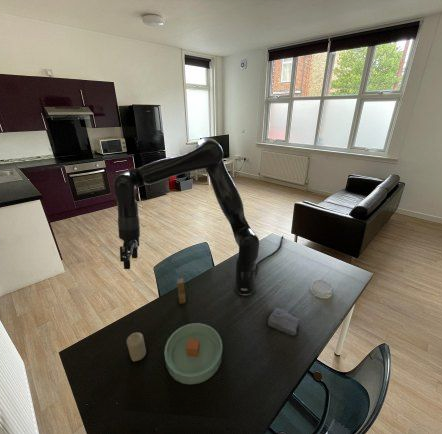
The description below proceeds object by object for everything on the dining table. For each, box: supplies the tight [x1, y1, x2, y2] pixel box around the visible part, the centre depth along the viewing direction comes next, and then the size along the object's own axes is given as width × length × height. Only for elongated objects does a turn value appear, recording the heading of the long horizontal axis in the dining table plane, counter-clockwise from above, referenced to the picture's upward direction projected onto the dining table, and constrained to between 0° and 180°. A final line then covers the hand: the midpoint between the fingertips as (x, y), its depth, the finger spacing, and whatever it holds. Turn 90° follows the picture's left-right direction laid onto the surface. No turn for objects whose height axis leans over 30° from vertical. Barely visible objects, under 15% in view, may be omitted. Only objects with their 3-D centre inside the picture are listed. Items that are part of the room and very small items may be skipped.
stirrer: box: [176, 277, 187, 305], centre depth 109 cm, size 3×3×12 cm
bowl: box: [163, 322, 223, 385], centre depth 86 cm, size 20×20×5 cm
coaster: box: [310, 279, 334, 300], centre depth 117 cm, size 10×10×4 cm
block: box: [186, 339, 200, 357], centre depth 87 cm, size 4×4×4 cm
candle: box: [126, 331, 147, 363], centre depth 85 cm, size 6×6×10 cm
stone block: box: [267, 307, 300, 336], centre depth 100 cm, size 12×5×10 cm
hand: (131, 263), depth 96 cm, fingers open, 8 cm apart
